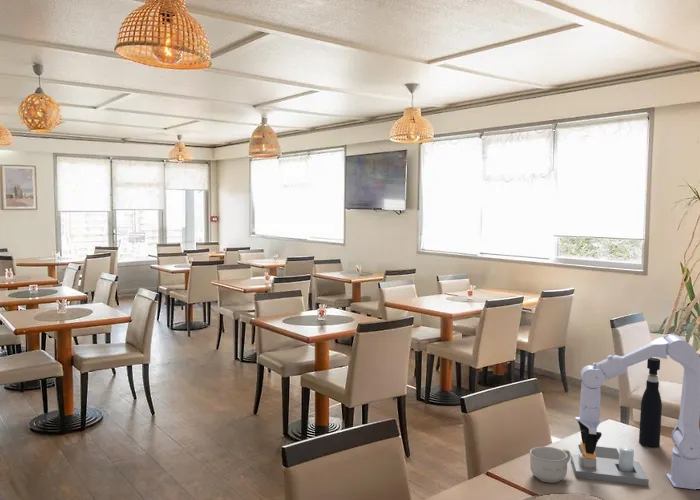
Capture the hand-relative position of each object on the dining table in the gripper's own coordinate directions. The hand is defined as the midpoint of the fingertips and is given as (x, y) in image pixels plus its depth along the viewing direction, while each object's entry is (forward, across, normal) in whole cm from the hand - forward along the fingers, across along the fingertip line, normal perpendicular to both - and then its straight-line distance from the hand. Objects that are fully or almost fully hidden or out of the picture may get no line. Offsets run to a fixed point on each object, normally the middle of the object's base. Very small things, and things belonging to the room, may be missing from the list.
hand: (587, 448), depth 178 cm
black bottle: (+7, -27, +24) cm, 37 cm away
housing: (+7, 0, +6) cm, 9 cm away
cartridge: (+7, 0, +11) cm, 13 cm away
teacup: (+7, +8, -11) cm, 15 cm away
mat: (+7, -13, +6) cm, 16 cm away
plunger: (+4, 0, 0) cm, 4 cm away
